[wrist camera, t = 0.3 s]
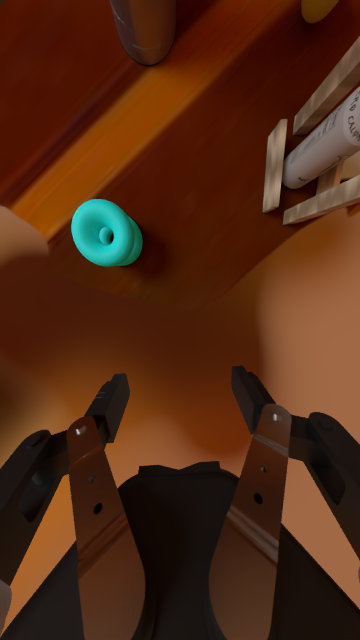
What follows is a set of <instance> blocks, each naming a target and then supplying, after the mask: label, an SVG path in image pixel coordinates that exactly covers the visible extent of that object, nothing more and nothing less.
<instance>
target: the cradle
mask: <svg viewBox="0 0 360 640" xmlns="http://www.w3.org/2000/svg"><path fill="white" fill-rule="evenodd" d="M359 81H360V36H359V38H358V39H357V40H356V41H355V43H354V44H353V45H352V46H351V48H350V49H349V50H348V51H347V53H346V54H345V55H344V56H343V58H342V59H341V60H340V61H339V63H338V64H337V65H336V66H335V68H334V69H333V70H332V71H331V73H330V74H329V75H328V76H327V78H326V79H325V80H324V81H323V82H322V84H321V85H320V86H319V87H318V89H317V90H316V91H315V92H314V94H313V95H312V96H311V97H310V99H309V100H308V101H307V102H306V104H305V105H304V106H303V107H302V109H301V110H300V111H299V112H298V114H297V115H296V116H295V121H294V130H293V135H300V134H307V133H308V132H309V131H310V130H311V129H312V128H313V127H314V126H315V125H316V124H317V123H318V122H319V121H320V120H321V119H322V118H323V117H324V116H325V115H326V114H327V113H328V112H329V111H330V110H331V109H332V108H333V107H334V106H335V105H336V104H337V103H338V102H339V101H340V100H341V99H342V98H343V97H344V96H345V95H346V94H347V93H348V92H349V91H350V90H351V89H352V88H353V87H354V86H355V85H356V84H357V83H358V82H359ZM286 128H287V119H281V120H280V122H279V123H278V125H277V126H276V127H275V129H274V130H273V131H272V133H271V134H270V136H269V137H268V147H267V161H266V175H265V188H264V202H263V213H268V212H269V211H271V210H273V209H275V208H277V207H278V206H279V199H280V189H281V179H282V168H283V158H284V148H285V138H286ZM343 164H344V161H342V162H341V163H339V164H337V165H336V166H334V167H333V168H331V169H329V170H328V171H326V172H324V173H323V174H321V175H320V176H319V179H318V185H317V191H316V196H315V197H313V198H310V199H308V200H306V201H304V202H302V203H300V204H298V205H296V206H294V207H292V208H290V209H288V210H286V211H284V220H283V225H286V224H295V223H298V222H301V221H305V220H308V219H311V218H314V217H317V216H320V215H323V214H326V213H329V212H332V211H335V210H337V209H341V208H344V207H347V206H350V205H353V204H356V203H359V202H360V175H358V176H356V177H354V178H352V179H350V180H348V181H346V182H344V183H342V184H340V180H341V174H342V169H343Z"/></svg>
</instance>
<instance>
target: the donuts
mask: <svg viewBox="0 0 360 640" xmlns="http://www.w3.org/2000/svg"><path fill="white" fill-rule="evenodd" d="M112 233H114V240H113V242H112V243H111V242H110V237H111V235H112ZM72 235H73V239H74V242H75V244H76V246H77V248H78V249H79V251H80V252H81V253H82V254H83V256H84V257H86V258H87V259H88V260H90V261H91V262H93V263H95V264H97V265H100V266H106V267H110V266H116V265H117V266H125V265H129V264H131V263H133V262H134V261H135V260H136V259H137V258H138V257H139V255H140V253H141V250H142V245H143V240H142V234H141V231H140V229H139V227H138V226H137V224H136V223H135V222H134V221H133V220H132V219H131V218H130V217H128V216H127V215H126V214H125V212H124V211H123V210H122V209H121V208H119V207H118V206H117V205H115V204H114V203H112V202H110V201H107V200H102V199H93V200H89V201H87V202H85V203H83V204H82V205H81V206H80V207H79V208H78V209H77V210H76V212H75V214H74V216H73V220H72Z"/></svg>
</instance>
